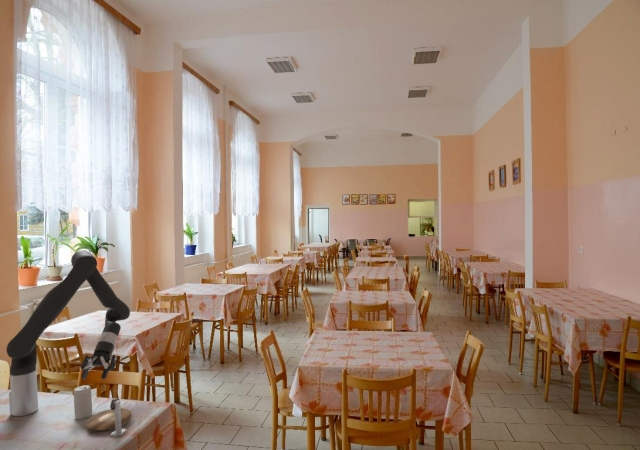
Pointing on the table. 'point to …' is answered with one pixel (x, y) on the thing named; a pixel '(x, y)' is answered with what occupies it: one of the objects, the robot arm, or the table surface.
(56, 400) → the table surface
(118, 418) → the stand
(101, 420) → the disc
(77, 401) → the beverage can
